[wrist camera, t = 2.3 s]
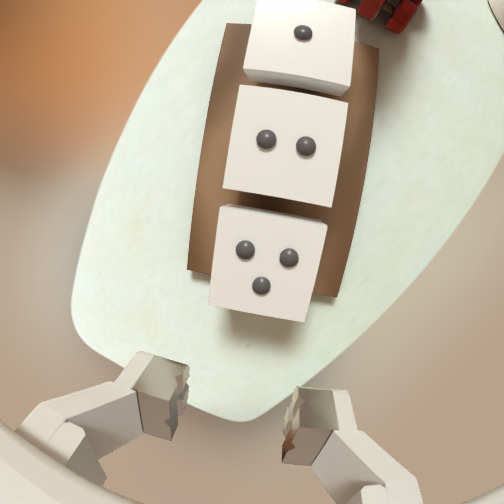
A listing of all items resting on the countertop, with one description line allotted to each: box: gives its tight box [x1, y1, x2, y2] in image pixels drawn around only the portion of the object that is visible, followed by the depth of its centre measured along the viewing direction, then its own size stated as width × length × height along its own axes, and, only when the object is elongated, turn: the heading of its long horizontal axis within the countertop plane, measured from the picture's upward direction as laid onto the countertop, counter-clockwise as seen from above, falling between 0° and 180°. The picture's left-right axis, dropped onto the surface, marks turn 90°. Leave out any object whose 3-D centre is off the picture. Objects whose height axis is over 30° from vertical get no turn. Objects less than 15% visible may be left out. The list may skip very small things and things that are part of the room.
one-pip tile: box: [243, 0, 356, 97], centre depth 15 cm, size 7×7×3 cm
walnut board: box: [187, 23, 379, 297], centre depth 20 cm, size 13×22×3 cm, turn 171°
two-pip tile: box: [223, 85, 348, 208], centre depth 17 cm, size 7×7×3 cm
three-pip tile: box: [208, 204, 328, 322], centre depth 19 cm, size 7×7×3 cm
